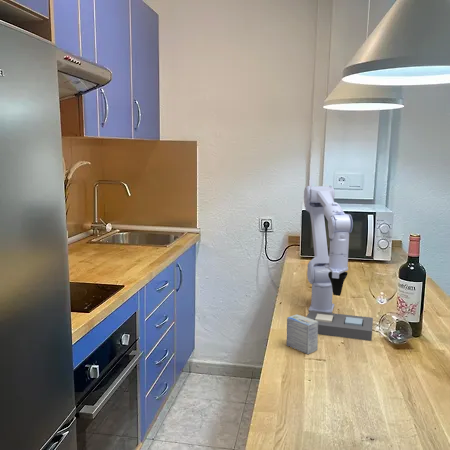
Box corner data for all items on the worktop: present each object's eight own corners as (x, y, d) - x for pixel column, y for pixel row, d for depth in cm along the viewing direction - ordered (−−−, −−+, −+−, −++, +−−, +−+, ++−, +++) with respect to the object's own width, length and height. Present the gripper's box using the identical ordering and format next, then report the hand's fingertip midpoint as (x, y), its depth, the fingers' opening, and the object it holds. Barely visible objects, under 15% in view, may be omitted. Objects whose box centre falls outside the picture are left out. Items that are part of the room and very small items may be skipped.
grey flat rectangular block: (309, 319, 154) (309, 310, 154) (372, 326, 148) (372, 317, 148) (303, 332, 143) (303, 322, 143) (371, 340, 137) (371, 331, 136)
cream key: (317, 322, 150) (317, 313, 150) (332, 324, 149) (333, 315, 148) (314, 328, 146) (315, 318, 145) (331, 330, 144) (331, 320, 143)
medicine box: (317, 350, 130) (319, 321, 129) (307, 355, 127) (308, 324, 126) (296, 342, 136) (296, 313, 135) (285, 346, 133) (286, 317, 132)
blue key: (345, 326, 147) (346, 316, 147) (362, 327, 146) (362, 318, 145) (344, 331, 143) (344, 322, 142) (361, 333, 141) (361, 324, 141)
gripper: (328, 247, 154) (327, 287, 156) (322, 256, 140) (321, 300, 142) (350, 249, 151) (348, 289, 154) (346, 258, 138) (344, 302, 140)
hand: (336, 294), depth 148 cm, fingers closed
